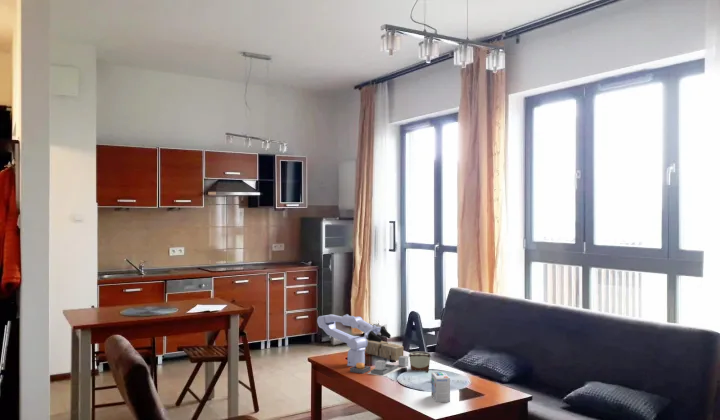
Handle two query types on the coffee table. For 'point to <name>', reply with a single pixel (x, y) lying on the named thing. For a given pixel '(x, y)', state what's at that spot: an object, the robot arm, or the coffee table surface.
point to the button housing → (357, 370)
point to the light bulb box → (440, 387)
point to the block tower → (384, 349)
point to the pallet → (388, 370)
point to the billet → (403, 361)
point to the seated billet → (380, 365)
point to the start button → (360, 365)
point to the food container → (419, 360)
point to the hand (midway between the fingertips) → (385, 338)
